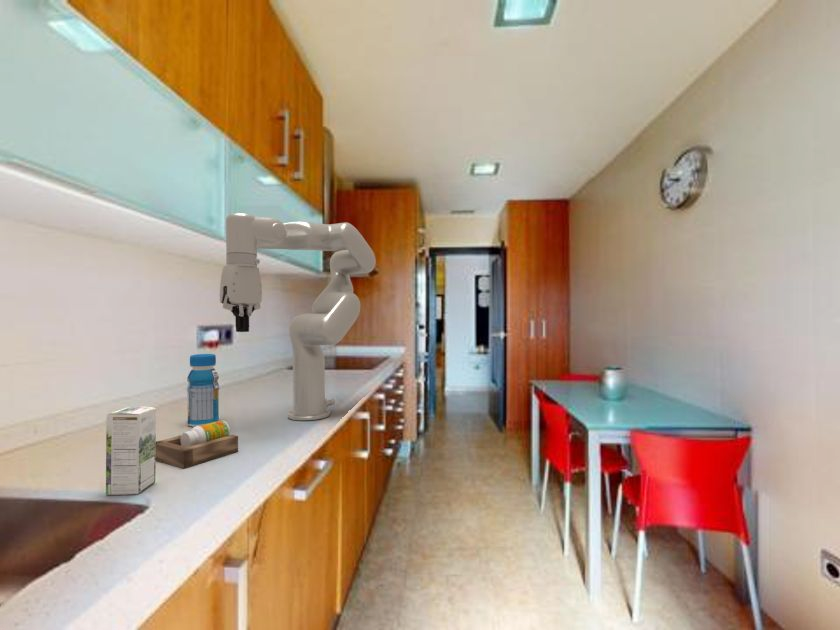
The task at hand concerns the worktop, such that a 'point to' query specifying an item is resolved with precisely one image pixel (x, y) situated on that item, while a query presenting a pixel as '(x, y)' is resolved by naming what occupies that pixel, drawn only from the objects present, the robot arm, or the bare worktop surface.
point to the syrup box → (130, 450)
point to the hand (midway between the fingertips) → (242, 331)
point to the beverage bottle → (203, 390)
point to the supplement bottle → (205, 433)
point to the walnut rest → (194, 451)
